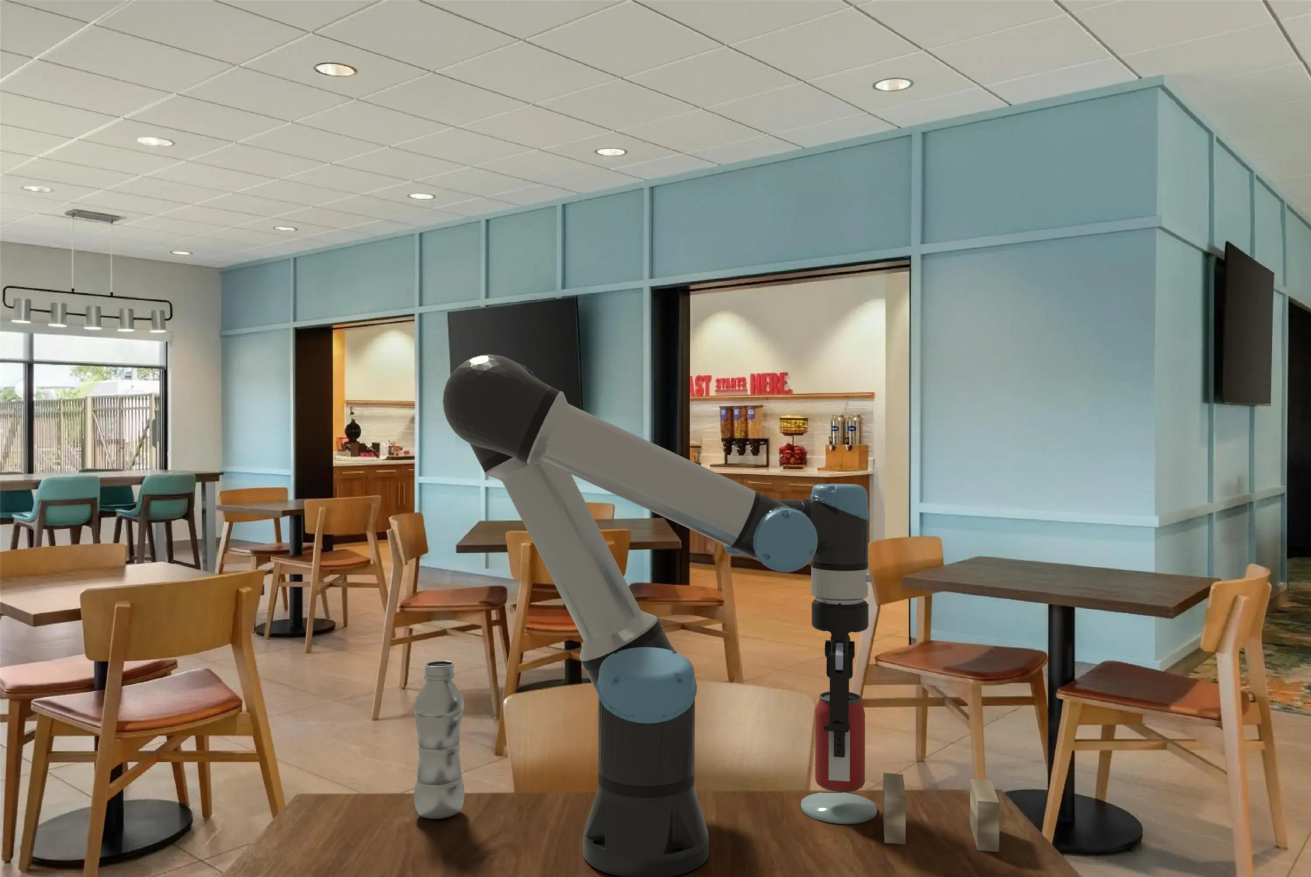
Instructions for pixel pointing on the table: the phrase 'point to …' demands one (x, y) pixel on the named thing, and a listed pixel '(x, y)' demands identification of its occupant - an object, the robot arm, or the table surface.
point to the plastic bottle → (439, 743)
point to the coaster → (839, 808)
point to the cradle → (981, 812)
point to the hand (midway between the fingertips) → (839, 770)
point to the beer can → (855, 745)
